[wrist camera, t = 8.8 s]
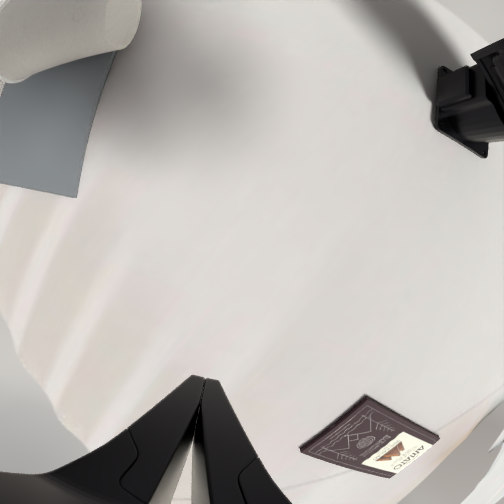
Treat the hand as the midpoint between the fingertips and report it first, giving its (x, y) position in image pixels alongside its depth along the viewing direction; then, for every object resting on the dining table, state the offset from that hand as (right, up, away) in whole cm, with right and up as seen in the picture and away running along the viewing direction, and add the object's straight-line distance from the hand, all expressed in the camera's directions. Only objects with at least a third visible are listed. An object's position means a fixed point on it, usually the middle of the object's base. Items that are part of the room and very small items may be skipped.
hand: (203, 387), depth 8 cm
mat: (-16, +17, +8) cm, 25 cm away
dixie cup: (-6, +19, +4) cm, 21 cm away
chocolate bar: (+16, -18, +17) cm, 30 cm away
